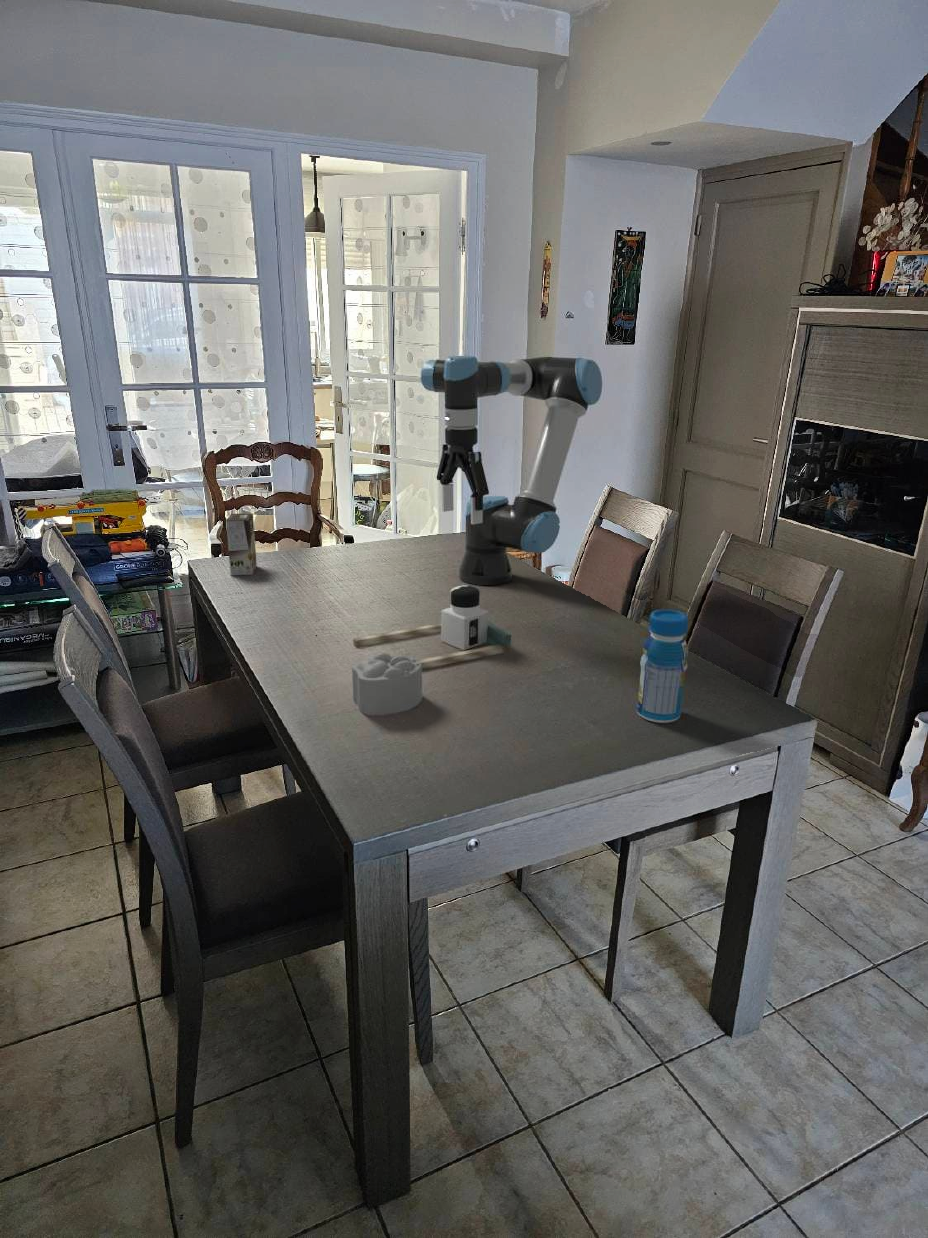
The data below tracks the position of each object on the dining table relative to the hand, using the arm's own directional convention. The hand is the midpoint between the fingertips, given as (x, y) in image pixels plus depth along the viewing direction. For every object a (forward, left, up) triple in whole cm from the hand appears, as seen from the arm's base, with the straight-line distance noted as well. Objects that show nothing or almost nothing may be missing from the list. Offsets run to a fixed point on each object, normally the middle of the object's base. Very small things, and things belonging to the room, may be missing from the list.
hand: (461, 516), depth 191 cm
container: (+8, +16, -25) cm, 31 cm away
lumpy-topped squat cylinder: (+35, +36, -25) cm, 57 cm away
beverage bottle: (-8, +64, -25) cm, 69 cm away
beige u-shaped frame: (+16, +16, -25) cm, 34 cm away
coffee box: (+39, -60, -25) cm, 76 cm away
